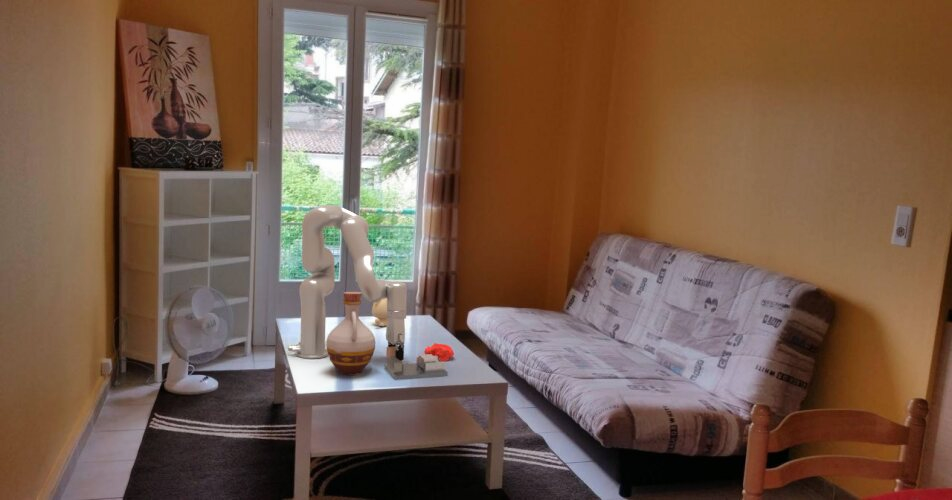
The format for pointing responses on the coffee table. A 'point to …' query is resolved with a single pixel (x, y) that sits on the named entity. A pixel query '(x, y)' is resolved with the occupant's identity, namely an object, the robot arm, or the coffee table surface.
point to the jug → (351, 339)
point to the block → (391, 352)
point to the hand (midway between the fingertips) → (395, 357)
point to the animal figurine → (440, 351)
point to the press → (414, 369)
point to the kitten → (380, 312)
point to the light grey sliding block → (426, 359)
